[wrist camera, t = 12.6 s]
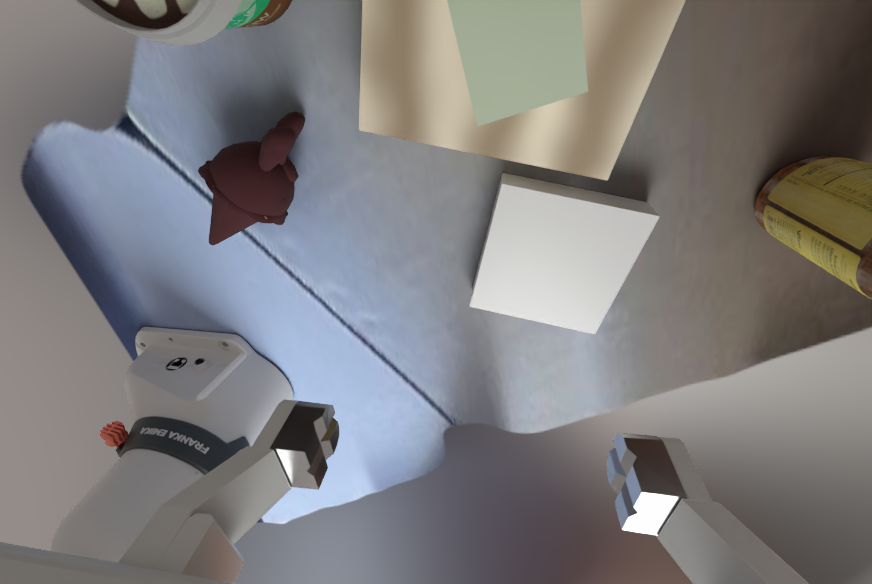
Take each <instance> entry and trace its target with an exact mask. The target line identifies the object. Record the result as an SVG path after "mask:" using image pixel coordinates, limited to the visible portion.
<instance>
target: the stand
mask: <svg viewBox="0 0 872 584" xmlns="http://www.w3.org/2000/svg"><path fill="white" fill-rule="evenodd" d="M659 217H660V216H659V215H658V214H657V213H656V212H655V210H654V209H653V208H652V207H651V206H650V205H649V204H648V203H647V202H644V201H639V200H634V199H629V198H624V197H619V196H614V195H609V194H605V193H600V192H595V191H590V190H585V189H580V188H575V187H570V186H566V185H561V184H556V183H551V182H546V181H541V180H536V179H531V178H526V177H522V176H517V175H512V174H507V173H502V176H501V180H500V184H499V187H498V191H497V195H496V199H495V203H494V207H493V211H492V215H491V218H490V222H489V226H488V230H487V234H486V238H485V242H484V245H483V249H482V253H481V257H480V261H479V265H478V269H477V273H476V276H475V280H474V284H473V288H472V294H471V301H470V307H474V308H478V309H483V310H487V311H492V312H496V313H501V314H505V315H510V316H514V317H519V318H523V319H528V320H532V321H537V322H541V323H546V324H550V325H555V326H559V327H564V328H568V329H573V330H577V331H582V332H586V333H591V334H595V333H596V331H597V330H598V328H599V326H600V324H601V322H602V321H603V319H604V317H605V315H606V313H607V311H608V310H609V308H610V306H611V304H612V302H613V301H614V299H615V297H616V295H617V293H618V291H619V290H620V288H621V286H622V284H623V282H624V281H625V279H626V277H627V275H628V273H629V271H630V270H631V268H632V266H633V264H634V262H635V261H636V259H637V257H638V255H639V253H640V251H641V250H642V248H643V246H644V244H645V242H646V241H647V239H648V237H649V235H650V233H651V231H652V230H653V228H654V226H655V224H656V222H657V221H658V219H659Z"/></svg>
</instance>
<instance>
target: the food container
mask: <svg viewBox="0 0 872 584" xmlns="http://www.w3.org/2000/svg"><path fill="white" fill-rule="evenodd" d="M75 1H76V2H77V3H79V4H80V5H81V6H83V7H84V8H85V9H87V10H88V11H89V12H91V13H93V14H94V15H96V16H98V17H99V18H101V19H103V20H104V21H106V22H108V23H110V24H112V25H113V26H115V27H117V28H119V29H121V30H124V31H126V32H128V33H130V34H133V35H136V36H139V37H142V38H145V39H149V40H152V41H155V42H159V43H164V44H168V45H176V46H188V45H194V44H199V43H202V42H204V41H206V40H209V39H211V38H213V37H214V36H215V35H217V34H218V33H219V32H221V31H222V30H223V29H229V28H240V27H252V26H260V25H267V24H269V23H271V22H274V21H275V20H276V19H278V18H279V17H281V16H282V15H283V13H284V12H285V11H286V10H287V9H288V7H289V5H290V4H291V2H292V0H75Z"/></svg>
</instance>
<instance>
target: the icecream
mask: <svg viewBox="0 0 872 584" xmlns="http://www.w3.org/2000/svg"><path fill="white" fill-rule="evenodd" d="M304 122H305V118H304V116H303V115H301V114H300V113H297V112H293V113H289V114H287V115H286V116H285V117H284V118H283V119H281V120H280V121H279V122H278V123H277V125H276V127H275V128H273V129H270V130H269V131H268V132H267V134H266V135H265V136H264V137H263V140H262V142H261V143H259V142H257V141H255V142H244V143H238V144H233V145H231V146H229V147H226V148H224V149H222V150H221V151H220V152H219V153H218V154H217V155H216V156H215V157H214V159H213V160H212V161H206V164H204V165H203V166H201V167H200V168H199V170H198V171H199V174H200V175H201V177H202V178H204V179H205V181H206V184H207V186H208V187H209V189H210V190H211V192H212V193H213V204H212V215H211V225H210V234H209V243H210V244H211V245H215V244H218V243H220V242H221V241H223V240H225V239H227V238H229V237H230V236H232V235H234V234H236V233H238V232H240V231H242V230H243V229H245V228H247V227H249V226H251V225H253V224H255V223H256V222H261V223H275V224H277V225H283V223H284V222H285V218H286V216H287V215H288V212H287V209H288V208H289V206H290V204H291V202H292V200H293V197H294V181H296V179H297V178H298V174H297V171H296V169H295V166H294V165H293V163H292V162H291V161H290V160H289V159H288V158H286V157H287V155H288V153H289V152H290V150H291V149H292V147H293V145H294V142H295V140H296V139H297V137H298V135H299V134H300V132H301V130H302V128H303V126H304Z"/></svg>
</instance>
